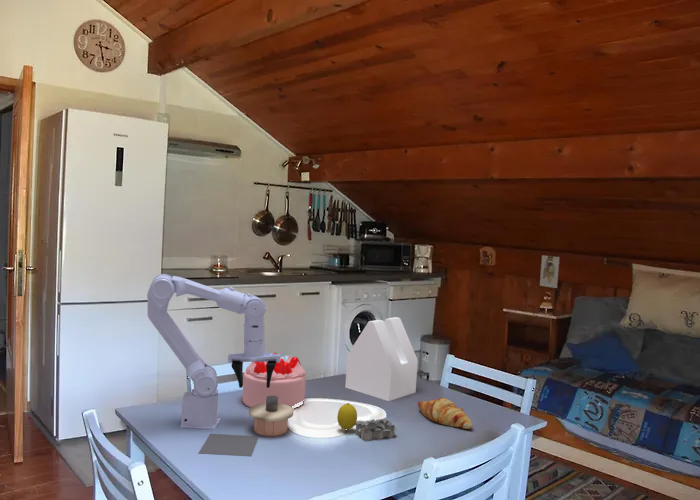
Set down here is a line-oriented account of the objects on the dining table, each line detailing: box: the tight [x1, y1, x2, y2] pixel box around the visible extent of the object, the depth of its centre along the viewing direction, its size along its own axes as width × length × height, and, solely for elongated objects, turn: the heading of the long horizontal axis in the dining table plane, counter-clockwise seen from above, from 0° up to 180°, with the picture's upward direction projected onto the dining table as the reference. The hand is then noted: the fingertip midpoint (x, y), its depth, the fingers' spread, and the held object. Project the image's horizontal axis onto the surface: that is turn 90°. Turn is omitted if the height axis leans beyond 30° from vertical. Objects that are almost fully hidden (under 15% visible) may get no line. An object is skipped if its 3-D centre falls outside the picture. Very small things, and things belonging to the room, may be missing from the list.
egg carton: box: [355, 417, 398, 441], centre depth 167 cm, size 11×8×4 cm
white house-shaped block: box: [344, 316, 419, 402], centre depth 209 cm, size 19×15×25 cm
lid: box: [248, 396, 294, 421], centre depth 164 cm, size 12×12×4 cm
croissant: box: [417, 397, 474, 430], centre depth 182 cm, size 21×10×8 cm, turn 42°
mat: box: [197, 433, 259, 457], centre depth 153 cm, size 13×13×1 cm
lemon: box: [337, 402, 358, 431], centre depth 168 cm, size 6×6×8 cm
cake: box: [241, 352, 307, 408], centre depth 190 cm, size 20×20×14 cm
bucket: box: [253, 418, 289, 437], centre depth 165 cm, size 9×9×5 cm
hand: (254, 386), depth 170 cm, fingers open, 7 cm apart
